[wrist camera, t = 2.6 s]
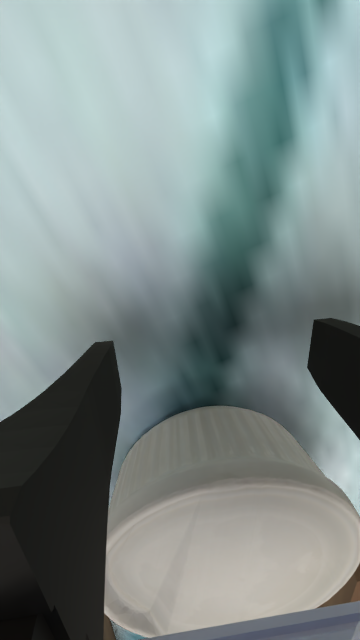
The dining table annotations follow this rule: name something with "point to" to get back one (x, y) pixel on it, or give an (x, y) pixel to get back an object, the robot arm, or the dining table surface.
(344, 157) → the dining table surface
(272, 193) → the dining table surface
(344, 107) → the dining table surface
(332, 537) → the ramekin
